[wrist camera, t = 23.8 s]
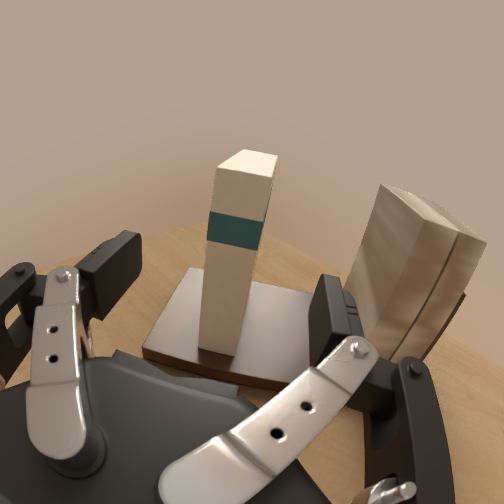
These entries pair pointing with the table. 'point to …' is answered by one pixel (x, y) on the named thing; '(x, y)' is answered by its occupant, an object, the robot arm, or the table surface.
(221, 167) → the white book
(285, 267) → the table surface
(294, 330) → the book rack
